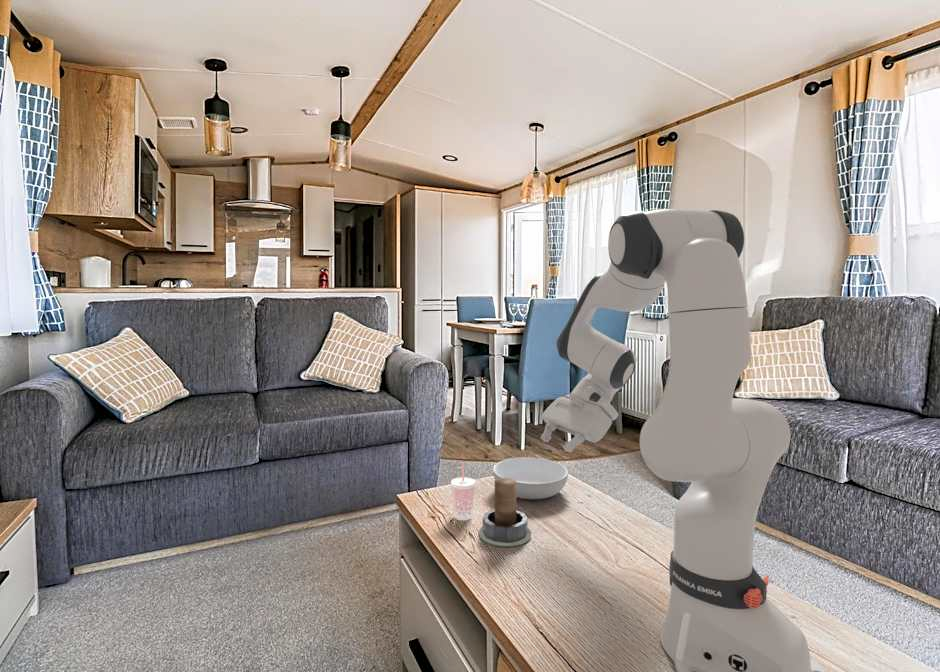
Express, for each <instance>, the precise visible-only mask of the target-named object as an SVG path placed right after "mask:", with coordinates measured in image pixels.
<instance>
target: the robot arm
mask: <svg viewBox="0 0 940 672" xmlns="http://www.w3.org/2000/svg"><path fill="white" fill-rule="evenodd" d="M607 245H608V248H607V250H608V257H609V259H610V264H609V267H608V269H607V271H606V272H602V273H598V274H596V275H594V277H593V278H592V279H590V281H589V282H588V283H587V285H586V286H585V287H584V290H583V291H582V292H581V294H580V297H579V299H578V300H577V303H576V305H574V306H575V307H574V309H573V310H572V313H571V314H570V316H569V319H568V321H567V323H566V324H565V326H564V328H563V329H562V331H561V332H560V333H559V335H558V338H557V340H556V344H555V345H556V349H557V353H558V355H559V358H561V359H563V360H565V361H567V362H569V363H571V364H573V365H575V366H576V367H578V368H580V369H582V370H583V371H585V372H586V373H587V374H586V375H585V376H584V377H582V378H581V380H580V381H578V383H577V384H576V385H575V387H574V388H573V390H572V391H571V392H570V393H569V394H565V395H563V396H560V397H557V398H555V400H554V401H553V402H551V404H549V406H547V408H546V409H545V410H544V411H543V412H542V414H541V419H542V420H543V421H544V422H545V423H546V424H545V426H544V430H543V433H542V434H541V435H540V439H541V440H542V441H543V442H546V443H549V442H550V441H551V440H552V436H551V435H552V434H553V432H555V431H556V430H557V429H558V430H560V431H563V432H566V433H567V434H570V435H573V436H574V437H573V438H572V439H570V440H567V441H565V443H564V444H563V446H562V449H564V450H565V451H566V452H568V453H572V452H573V451H574V450H575V448H576V447H578V446H581V444H583V443H584V441H589V442H591V443H595V444H596V443H597V442H599V441H601V440H602V439H603V437H604V436H605V435H606V433H607V432H608V430H609V429H610V428H611V426H612V424H613V421H615V420H616V419H617V418H618V417H619V416H620V415H619V412H618V411H617V410H616V409H615V408H614V406H613V405H612V404H611V402H612V401H613V399H614V396H615V394H616V393H617V392H619V391H620V390H621V389H622V388H623V387H625V386H626V384H627V383H628V382H629V380H630V379H631V377H632V376H633V374H634V373H635V370H636V364H637V361H638V360H637V356H636V354H635V352H634V351H633V350H632V348H631V347H629V346H627V345H625V344H623V343H621V342H618V341H617V340H615V339H614V338H613V339H612V338H610V337H609V336H607V335H605V334H603V333H602V332H601V331H599V330H597V329H595V328H594V327H593V326H592V325H591V321H592V319H593V317H594V315H595V313H596V311H597V309H609V310H613V311H617V312H623V313H627V312H628V313H632V312H637V311H641V310H645V309H646V308H648V307H650V306H651V305H653V304H654V303H655V302H656V301H657V299H658V298H659V296H660V294H661V292H662V291H663V289H664V285H665V283H666V286H667V312H668V315H667V316H668V332H669V333H668V334H669V367H668V369H669V370H668V375H667V379H666V382H665V386H664V390H663V392H662V393H663V394H662V395H661V397H660V401H659V403H658V405H657V407H656V409H655V410H654V412H653V413H652V414H651V416H649V417H648V418H647V420H646V421H645V422H644V423H643V425H642V427H641V430H640V433H639V448H640V449H639V450H640V452H641V456H642V458H643V461H644V462H645V464H646V466H647V467H648V469H649V470H650V471H651V472H652V473H653V474H654V475H655V476H657V477H658V478H659V479H662V480H664V481H668V482H677V483H678V482H679V483H680V482H681V483H690V485H689V486H688V488H687V490H686V491H685V492H684V493H683V494H682V495H681V497H680V498H678V499H679V500H678V501H677V503H676V505H675V508H674V518H673V519H674V522H673V525H674V526H673V550H672V551H671V553H670V560H669V573H668V574H669V585H670V587H671V588H670V594H669V601H668V605H667V606H668V607H667V611H666V616H665V619H664V622H663V625H662V628H661V631H660V634H659V638H660V639H659V640H660V644H661V645H662V647H663V649H664V651H665V653H667V655H668V656H669V658H671V660H672V661H673V663H674V667H675V668H674V669H675V671H676V672H826V669H825V668H824V667H823V665H822V664H820V663H819V662H817V661H816V660H814V659H813V658H811V656H810V655H811V653H810V648H809V644H808V641H807V638H806V636H805V634H804V632H803V631H802V630H801V628H800V627H799V626H797V624H795V623H794V622H793V621H792V620H791V619H790V618H789V617H788V616H787V615H785V613H783V611H782V610H780V608H778V606H776V604H774V602H772V601H771V600H770V598H768V597H767V592H768V589H767V586H768V585H769V581H770V580H769V579H770V575H769V574H766V575H765V576H764V578H762V577H761V575H760V574H759V572H757V570H756V569H755V567H754V565H753V563H754V561H753V560H754V543H755V530H756V529H755V528H756V521H757V516H758V512H759V508H760V505H761V502H762V499H763V496H764V493H765V490H766V487H767V484H768V482H769V479H770V477H771V475H772V472H773V470H774V468H775V466H776V465H777V464H778V462H779V460H780V459H781V458H782V456H783V455H784V454H785V453H786V452H787V450H788V449H789V446H790V443H791V439H792V437H791V435H792V434H791V427H790V425H789V422H788V420H787V418H786V417H785V415H784V414H783V412H781V411H780V410H779V409H778V408H777V407H775V405H772V404H771V403H769V402H765V401H760V400H758V399H757V400H755V399H751V398H750V399H749V398H748V399H747V398H743V397H742V398H739V397H738V398H733V397H734V393H735V389H736V386H737V384H738V381H739V378H740V377H741V376H742V374H743V373H744V372H745V370H746V369H747V367H749V364H750V363H751V359H752V348H751V333H750V321H749V320H750V319H749V308H748V298H747V291H746V290H747V289H746V284H745V278H744V274H743V270H742V266H741V262H740V260H739V259H740V257H741V255H742V252H743V249H744V246H745V233H744V230H743V226H742V224H741V222H740V220H739V219H738V217H737V216H735V215H734V214H733V213H729V212H727V211H722V210H715V209H710V210H708V211H707V210H698V209H679V208H666V209H657V210H647V211H641V210H637V211H632V212H628V213H623V214H622V215H619V217H617V218H616V220H614V222H613V223H612V225H611V227H610V229H609V234H608V243H607Z"/></svg>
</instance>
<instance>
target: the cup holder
mask: <svg viewBox="0 0 940 672" xmlns="http://www.w3.org/2000/svg"><path fill="white" fill-rule="evenodd" d="M528 523H529V522H528V517H527V515H526V514H525V512H523V511H519V510H517V509H516V524H515V525H507V526H505V525H497V524H495V508H494V509H490V510H488V511H487V512H485V513H484V515H483V516H482V526H481V527H480V529H479V530H478V531H479V532H478V536H479V538H480V540H481V541H482V542H484V543H485V544H486V545H487V544H488V545H490V546H493V547H497V548H516V547H520V546H523V545H526V544H527V543H529V541H531V539H532V531H531V530H530V528H529V527H528Z"/></svg>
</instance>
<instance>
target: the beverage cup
mask: <svg viewBox="0 0 940 672" xmlns="http://www.w3.org/2000/svg"><path fill="white" fill-rule="evenodd" d="M450 486H451V489H452V501H453V505H452V506H453V517H454V519H455V520H457V521H468V520H471V519H472V518H473V510H474V508H473V507H474V492H475V486H476V480H475V479H473V478H471V477H466V476H465V461H462V462H461V477H456V478H453V479H451V480H450Z"/></svg>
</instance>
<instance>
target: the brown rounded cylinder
mask: <svg viewBox="0 0 940 672" xmlns="http://www.w3.org/2000/svg"><path fill="white" fill-rule="evenodd" d="M494 509H495V524H497V525H505V526H507V525H515V524H516V510H517V497H516V481H515V480H514V479H511V478H499V479H496V480H495V479H494Z"/></svg>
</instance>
